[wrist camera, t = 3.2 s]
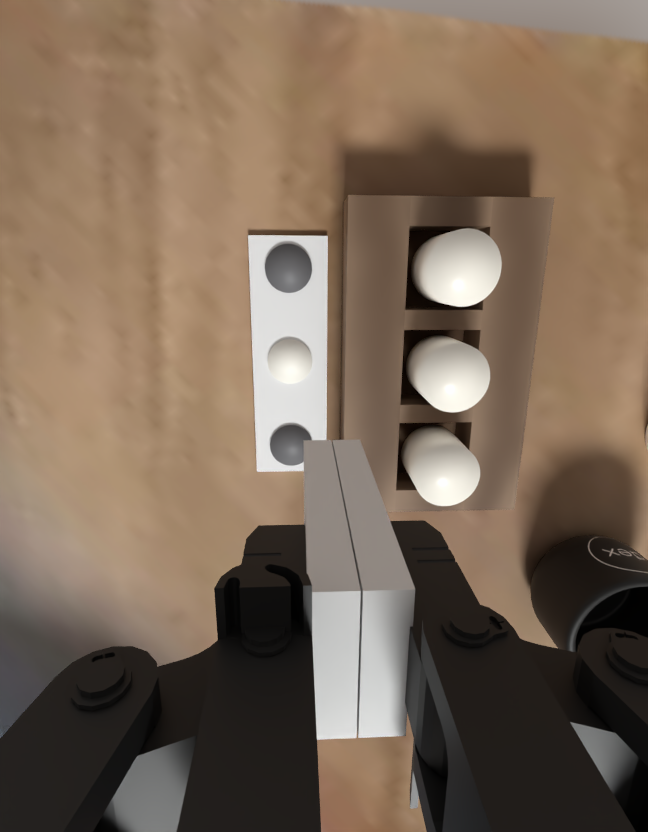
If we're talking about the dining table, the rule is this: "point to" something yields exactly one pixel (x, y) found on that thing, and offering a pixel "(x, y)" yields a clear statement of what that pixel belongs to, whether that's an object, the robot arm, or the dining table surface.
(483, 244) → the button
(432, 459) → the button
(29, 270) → the dining table surface
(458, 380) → the button middle
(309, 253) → the card
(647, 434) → the figurine
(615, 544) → the mug
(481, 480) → the board
